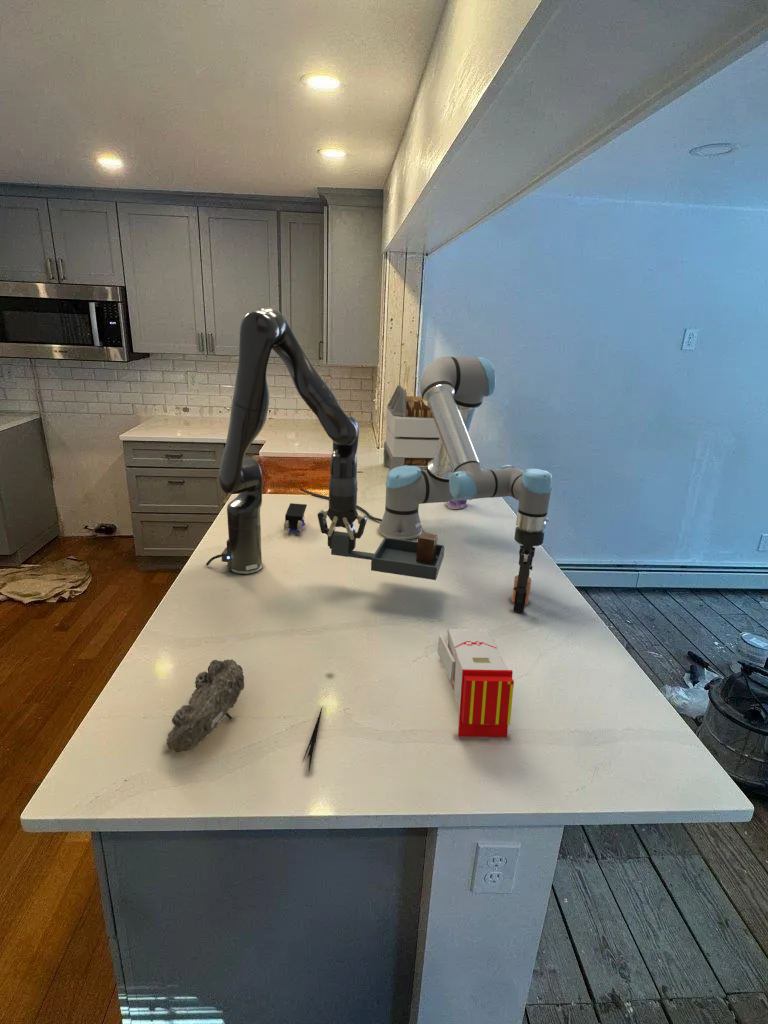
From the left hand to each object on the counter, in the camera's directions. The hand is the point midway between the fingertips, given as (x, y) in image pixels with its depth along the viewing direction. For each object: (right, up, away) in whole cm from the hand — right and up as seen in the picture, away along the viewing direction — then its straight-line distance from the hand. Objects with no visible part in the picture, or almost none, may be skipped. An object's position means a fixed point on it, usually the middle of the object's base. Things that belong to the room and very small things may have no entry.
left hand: (341, 548), depth 157 cm
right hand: (+50, -14, -1) cm, 52 cm away
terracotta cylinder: (+49, -14, -1) cm, 51 cm away
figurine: (+41, +13, +73) cm, 85 cm away
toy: (+30, -27, -39) cm, 56 cm away
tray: (+12, -3, -2) cm, 13 cm away
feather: (-1, -30, -49) cm, 57 cm away
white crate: (+29, +29, +118) cm, 125 cm away
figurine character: (-19, +4, +42) cm, 46 cm away
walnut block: (+23, -3, -2) cm, 24 cm away
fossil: (-21, -29, -49) cm, 61 cm away
